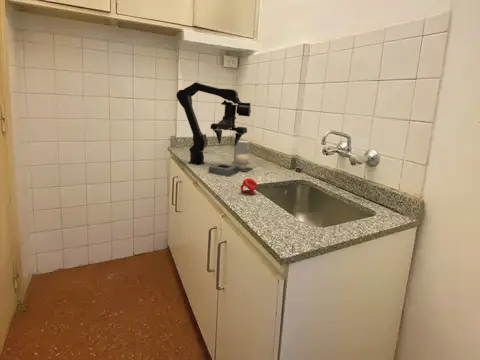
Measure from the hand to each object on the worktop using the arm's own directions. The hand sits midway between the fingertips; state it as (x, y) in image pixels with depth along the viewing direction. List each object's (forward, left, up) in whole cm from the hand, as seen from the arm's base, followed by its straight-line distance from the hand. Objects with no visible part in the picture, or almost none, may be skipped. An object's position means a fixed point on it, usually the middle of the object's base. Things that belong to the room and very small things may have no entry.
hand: (227, 144), depth 164 cm
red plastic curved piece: (+27, -37, -12) cm, 47 cm away
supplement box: (+3, +13, -12) cm, 18 cm away
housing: (+5, -13, -12) cm, 18 cm away
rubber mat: (+9, -1, -12) cm, 15 cm away
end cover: (+9, -1, -11) cm, 15 cm away
